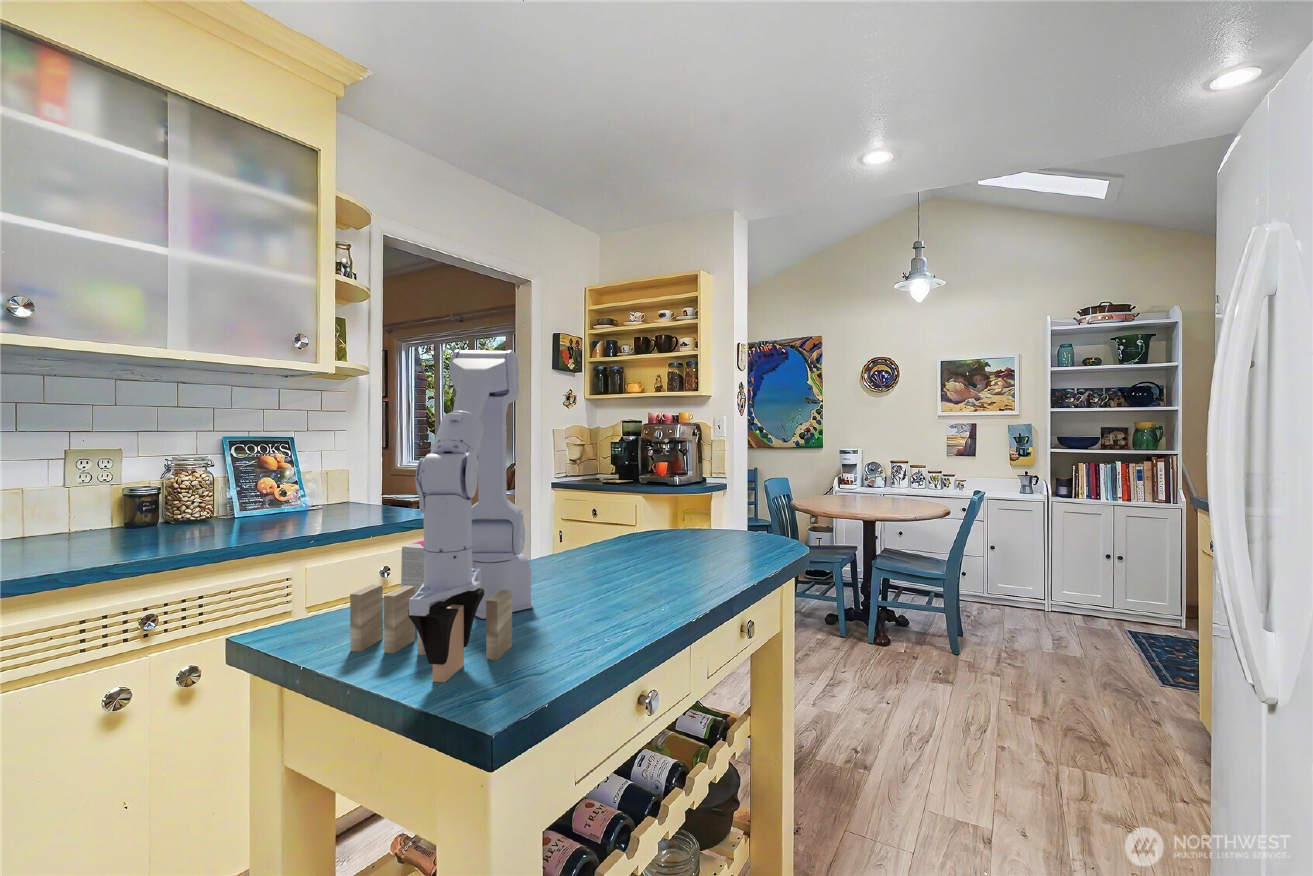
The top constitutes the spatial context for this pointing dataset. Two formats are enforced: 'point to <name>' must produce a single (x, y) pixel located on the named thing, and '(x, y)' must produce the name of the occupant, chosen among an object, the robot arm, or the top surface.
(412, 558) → the supplement box
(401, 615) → the domino
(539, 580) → the top surface
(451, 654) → the domino
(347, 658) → the top surface
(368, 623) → the domino
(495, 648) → the domino
